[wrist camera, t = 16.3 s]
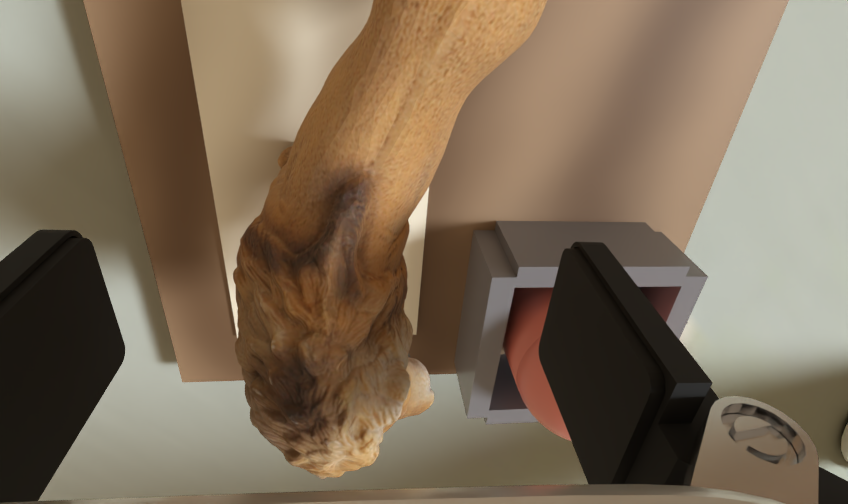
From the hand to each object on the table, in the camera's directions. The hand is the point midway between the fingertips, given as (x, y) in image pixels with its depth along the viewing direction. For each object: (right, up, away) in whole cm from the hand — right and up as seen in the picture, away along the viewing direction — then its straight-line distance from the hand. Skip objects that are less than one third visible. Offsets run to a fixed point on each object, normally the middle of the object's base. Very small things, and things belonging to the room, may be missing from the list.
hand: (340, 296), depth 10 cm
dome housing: (+7, -1, +10) cm, 12 cm away
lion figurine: (+1, +6, +5) cm, 7 cm away
